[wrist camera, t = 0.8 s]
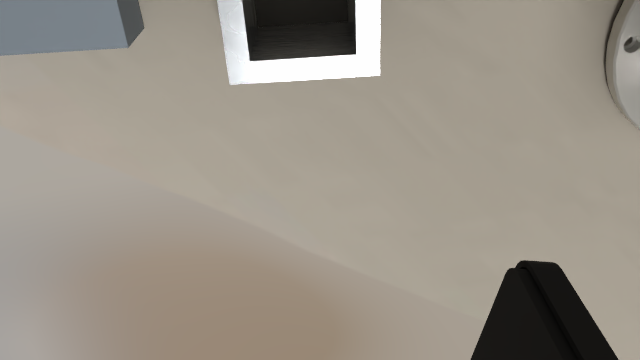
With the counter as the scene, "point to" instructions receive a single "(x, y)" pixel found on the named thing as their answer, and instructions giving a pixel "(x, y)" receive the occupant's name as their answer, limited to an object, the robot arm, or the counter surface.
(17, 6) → the shaft block
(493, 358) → the robot arm
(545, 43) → the counter surface
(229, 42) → the grey open box
